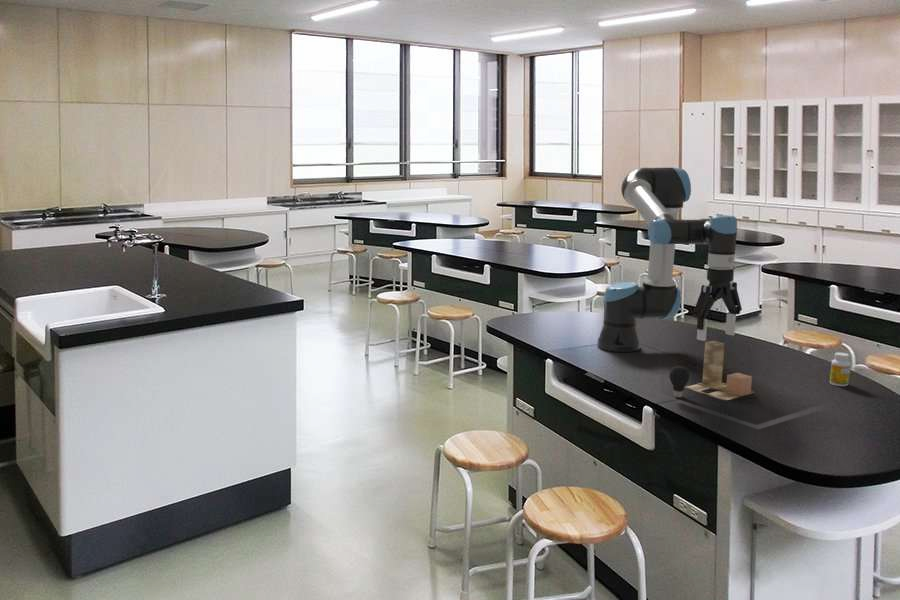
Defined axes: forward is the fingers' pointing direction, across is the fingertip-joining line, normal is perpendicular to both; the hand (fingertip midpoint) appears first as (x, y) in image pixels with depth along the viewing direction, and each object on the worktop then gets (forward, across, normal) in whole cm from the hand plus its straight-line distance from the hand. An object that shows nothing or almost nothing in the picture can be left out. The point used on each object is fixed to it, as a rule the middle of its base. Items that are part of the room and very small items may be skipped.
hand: (715, 337), depth 248 cm
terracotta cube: (+15, 0, -9) cm, 17 cm away
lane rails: (+16, -3, -5) cm, 17 cm away
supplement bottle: (+16, +37, -19) cm, 45 cm away
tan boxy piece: (+16, 0, -5) cm, 17 cm away
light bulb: (+16, -18, -2) cm, 24 cm away
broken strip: (+16, -6, -5) cm, 18 cm away
